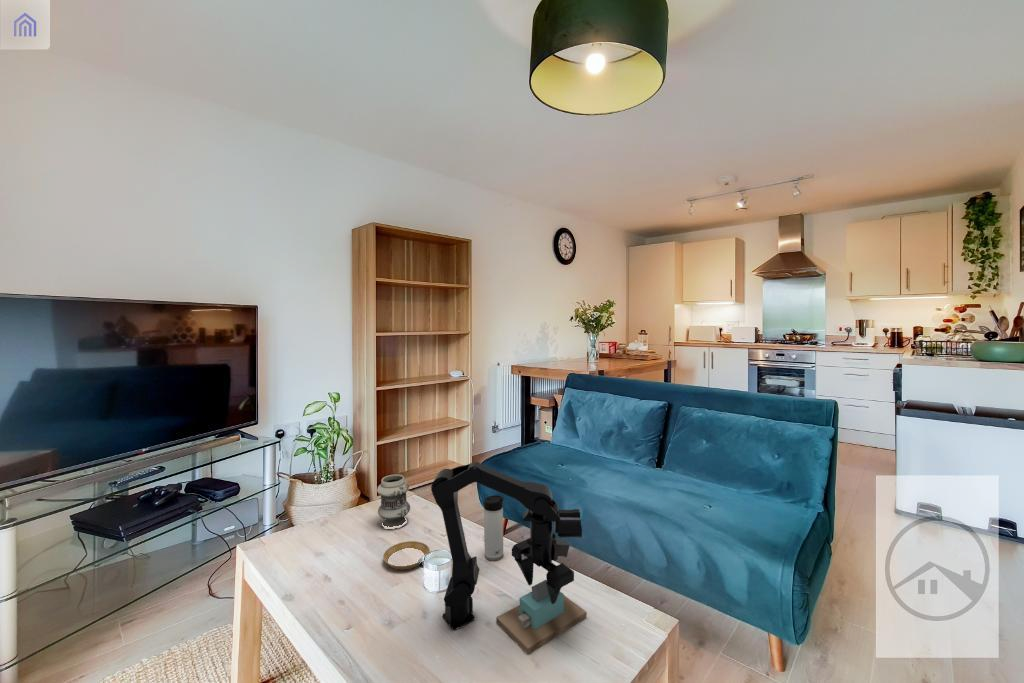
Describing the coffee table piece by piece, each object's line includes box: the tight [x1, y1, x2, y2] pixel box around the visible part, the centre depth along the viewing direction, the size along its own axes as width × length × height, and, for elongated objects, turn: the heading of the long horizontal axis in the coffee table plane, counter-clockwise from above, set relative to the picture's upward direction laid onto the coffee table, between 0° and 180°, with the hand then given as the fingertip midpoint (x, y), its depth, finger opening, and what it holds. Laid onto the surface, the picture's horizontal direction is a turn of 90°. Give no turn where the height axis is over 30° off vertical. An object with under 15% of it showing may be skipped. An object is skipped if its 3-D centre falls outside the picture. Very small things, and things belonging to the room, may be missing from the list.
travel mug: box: [483, 494, 505, 562], centre depth 139 cm, size 6×7×20 cm
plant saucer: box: [383, 540, 430, 570], centre depth 138 cm, size 15×15×3 cm
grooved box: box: [519, 579, 564, 630], centre depth 110 cm, size 10×6×8 cm, turn 127°
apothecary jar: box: [376, 473, 411, 527], centre depth 162 cm, size 12×12×18 cm
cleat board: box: [495, 595, 588, 655], centre depth 110 cm, size 20×13×4 cm, turn 127°
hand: (541, 593), depth 110 cm, fingers open, 9 cm apart
